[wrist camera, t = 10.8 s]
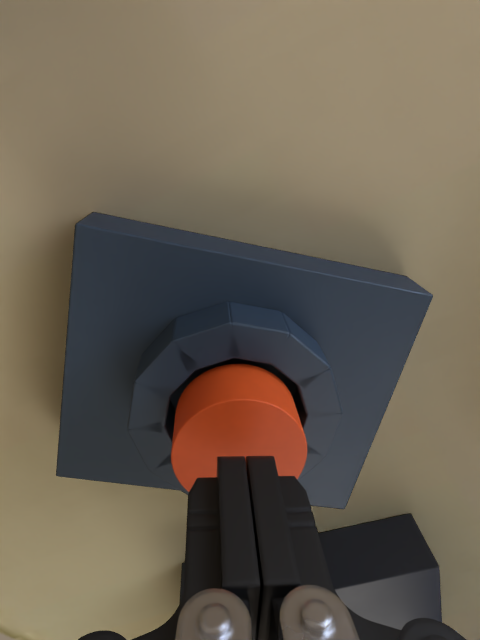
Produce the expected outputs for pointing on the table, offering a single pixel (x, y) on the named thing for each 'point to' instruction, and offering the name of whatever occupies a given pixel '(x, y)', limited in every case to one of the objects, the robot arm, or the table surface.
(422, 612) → the dial panel
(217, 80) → the table surface
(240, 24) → the table surface
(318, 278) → the switch block
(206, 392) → the button
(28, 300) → the table surface
